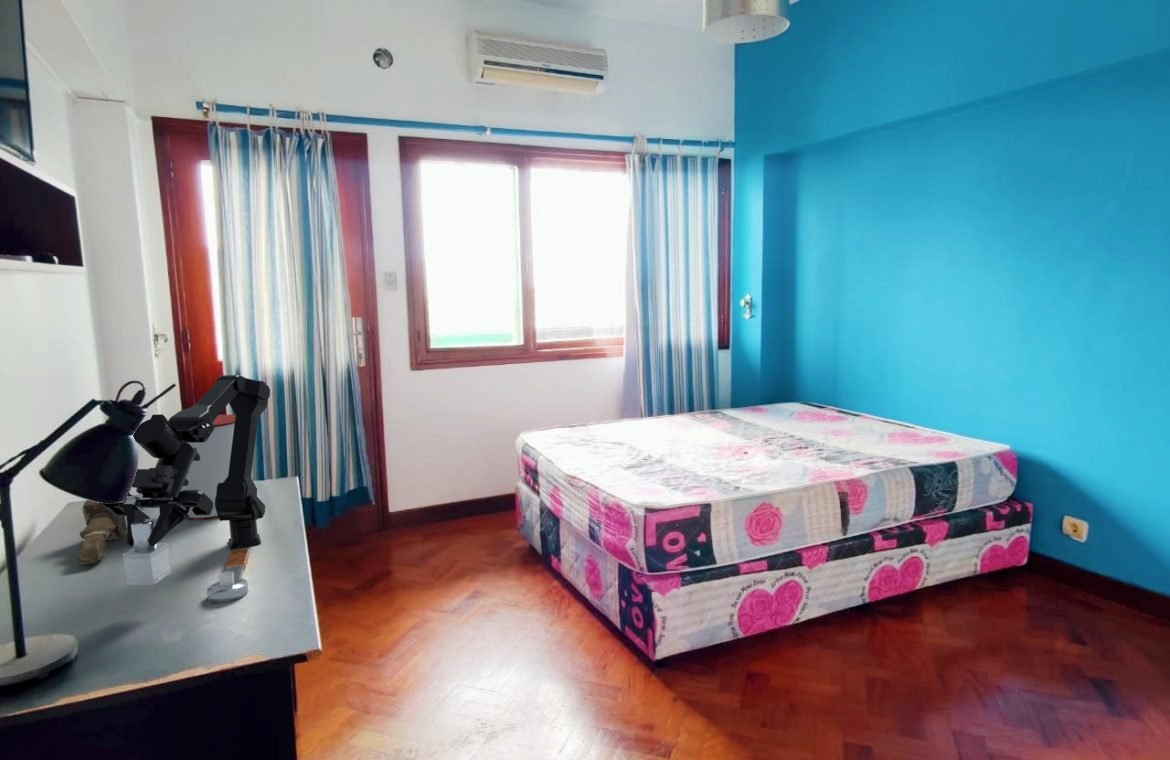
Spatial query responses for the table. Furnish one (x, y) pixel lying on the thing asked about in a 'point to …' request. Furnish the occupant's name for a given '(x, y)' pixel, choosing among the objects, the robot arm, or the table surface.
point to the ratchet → (231, 579)
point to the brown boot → (99, 531)
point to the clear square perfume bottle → (145, 556)
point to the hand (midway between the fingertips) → (140, 545)
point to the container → (211, 463)
